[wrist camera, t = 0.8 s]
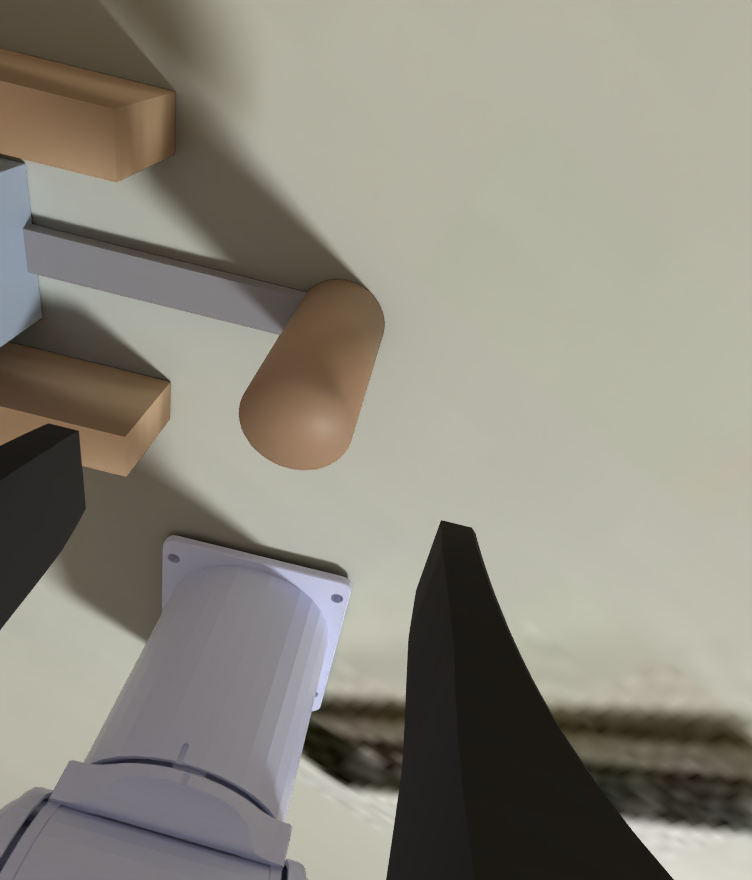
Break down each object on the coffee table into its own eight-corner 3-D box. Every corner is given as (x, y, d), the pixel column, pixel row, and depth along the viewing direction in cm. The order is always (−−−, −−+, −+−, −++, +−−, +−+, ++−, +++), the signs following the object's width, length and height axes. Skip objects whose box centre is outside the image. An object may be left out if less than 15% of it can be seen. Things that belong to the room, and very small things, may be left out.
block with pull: (368, 398, 22) (335, 513, 17) (-101, 281, 22) (-272, 362, 17) (401, 257, 19) (372, 345, 14) (-140, 122, 19) (-360, 164, 14)
